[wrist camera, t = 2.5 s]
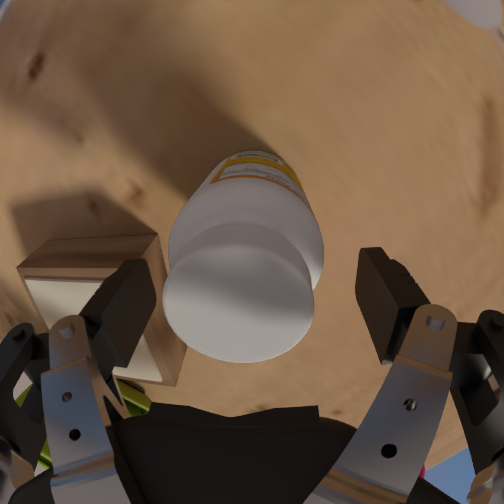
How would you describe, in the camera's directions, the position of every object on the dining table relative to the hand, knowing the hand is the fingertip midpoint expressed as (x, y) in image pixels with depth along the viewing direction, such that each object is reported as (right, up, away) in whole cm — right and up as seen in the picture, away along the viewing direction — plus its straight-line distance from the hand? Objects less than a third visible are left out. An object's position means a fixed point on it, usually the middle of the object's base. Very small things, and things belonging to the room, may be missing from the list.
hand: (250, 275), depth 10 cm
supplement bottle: (0, +4, +5) cm, 7 cm away
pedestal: (-10, -3, +9) cm, 14 cm away
